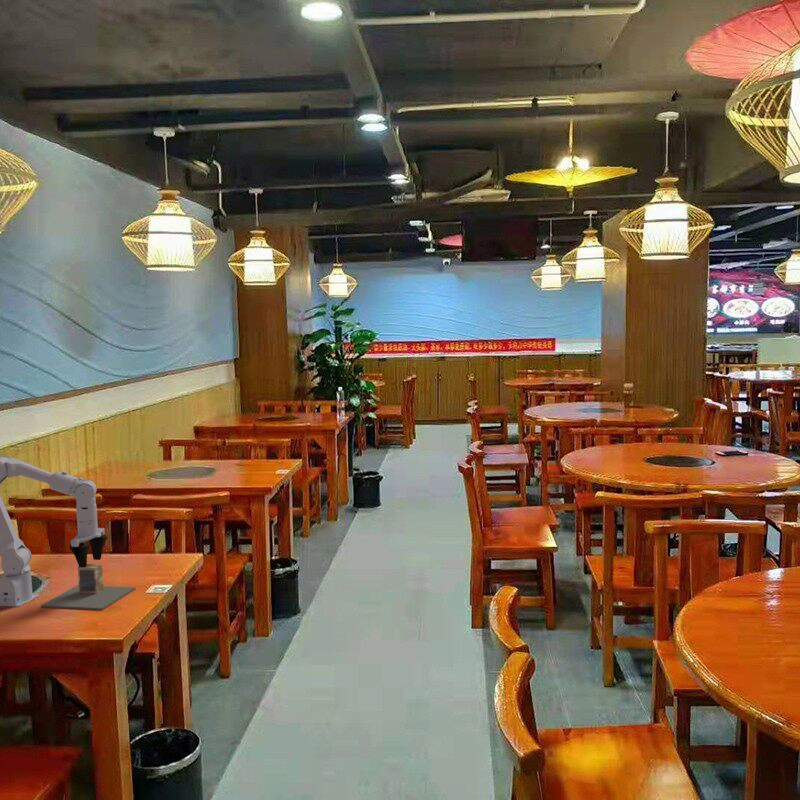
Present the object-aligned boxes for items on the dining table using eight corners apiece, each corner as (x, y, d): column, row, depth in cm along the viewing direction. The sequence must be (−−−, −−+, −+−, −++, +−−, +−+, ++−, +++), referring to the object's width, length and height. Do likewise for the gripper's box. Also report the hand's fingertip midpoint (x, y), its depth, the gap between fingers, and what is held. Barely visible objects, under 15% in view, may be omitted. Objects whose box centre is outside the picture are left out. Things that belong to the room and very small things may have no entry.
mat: (102, 610, 218) (102, 608, 218) (41, 607, 222) (40, 605, 222) (135, 589, 236) (135, 587, 236) (77, 586, 240) (77, 585, 239)
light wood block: (96, 593, 231) (95, 568, 230) (79, 592, 232) (77, 567, 231) (103, 589, 234) (102, 564, 234) (86, 588, 235) (84, 563, 235)
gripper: (84, 526, 223) (87, 571, 225) (112, 514, 238) (115, 556, 239) (63, 525, 225) (66, 570, 226) (92, 514, 239) (94, 556, 240)
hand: (90, 563), depth 233 cm, fingers open, 7 cm apart
